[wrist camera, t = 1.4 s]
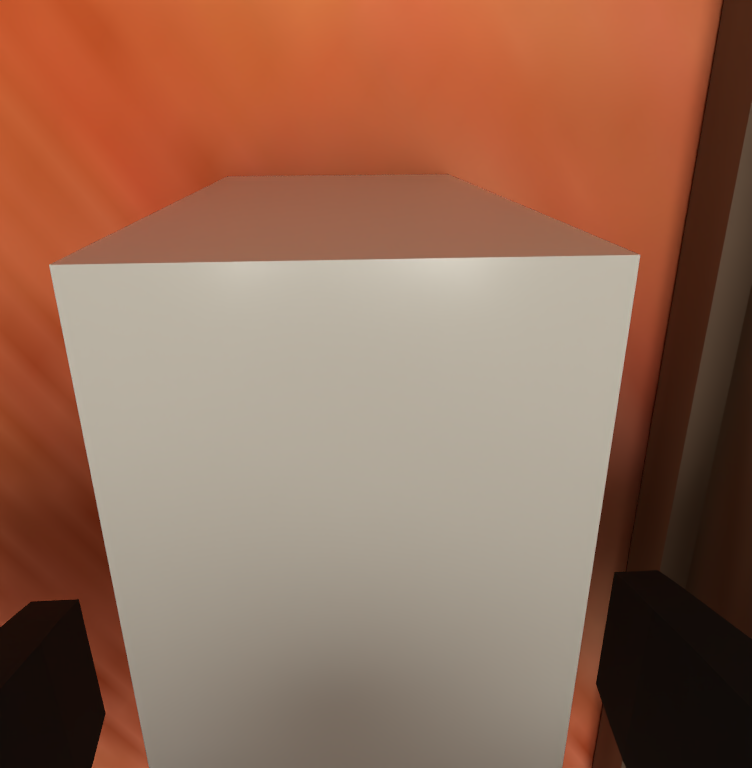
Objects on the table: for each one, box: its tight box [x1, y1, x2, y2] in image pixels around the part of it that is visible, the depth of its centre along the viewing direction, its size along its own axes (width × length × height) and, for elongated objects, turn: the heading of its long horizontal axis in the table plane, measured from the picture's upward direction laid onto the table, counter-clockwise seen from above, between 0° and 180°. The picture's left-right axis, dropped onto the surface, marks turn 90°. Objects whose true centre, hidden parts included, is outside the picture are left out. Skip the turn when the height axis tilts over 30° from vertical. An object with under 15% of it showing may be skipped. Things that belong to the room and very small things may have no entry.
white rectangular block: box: [49, 174, 640, 768], centre depth 8 cm, size 3×12×6 cm, turn 0°
